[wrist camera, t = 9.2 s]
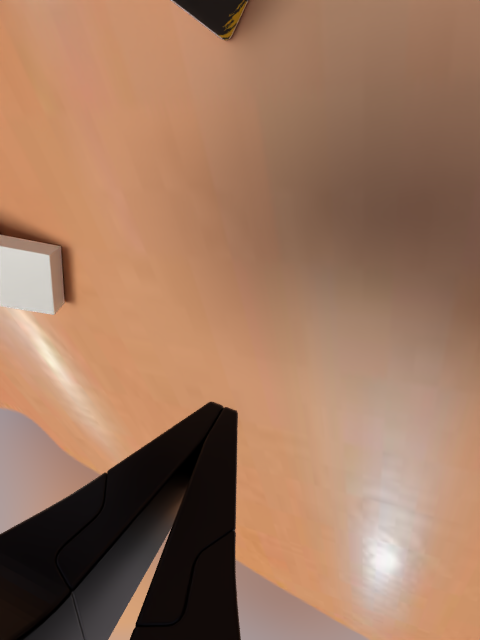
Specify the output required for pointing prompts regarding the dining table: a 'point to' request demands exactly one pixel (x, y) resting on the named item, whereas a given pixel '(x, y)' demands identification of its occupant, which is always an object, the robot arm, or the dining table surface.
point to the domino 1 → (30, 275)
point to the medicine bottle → (215, 14)
